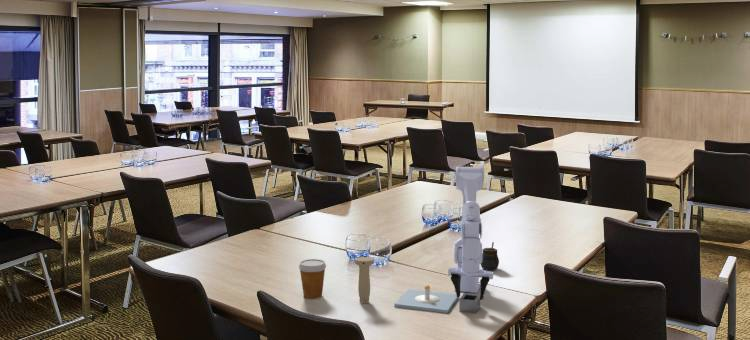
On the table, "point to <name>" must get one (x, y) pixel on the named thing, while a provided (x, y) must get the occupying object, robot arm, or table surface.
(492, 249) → the mate gourd
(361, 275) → the handle
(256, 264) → the table surface
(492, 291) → the table surface
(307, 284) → the disposable coffee cup
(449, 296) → the board
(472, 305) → the hollow square tube
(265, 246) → the table surface
